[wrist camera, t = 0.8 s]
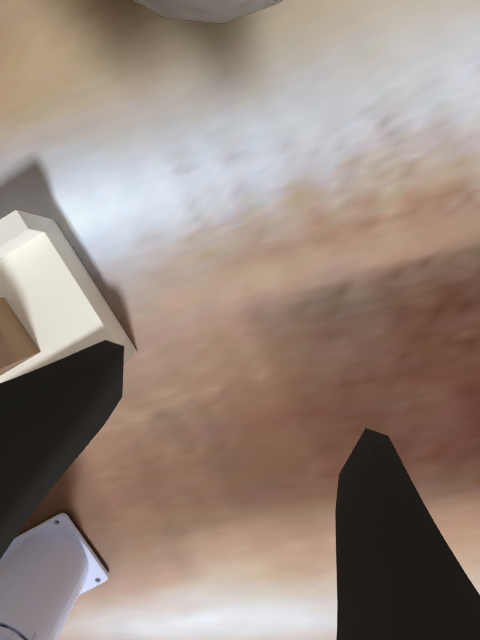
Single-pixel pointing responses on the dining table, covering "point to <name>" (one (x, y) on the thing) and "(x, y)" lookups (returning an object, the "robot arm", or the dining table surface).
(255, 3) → the flower arrangement
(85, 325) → the tray
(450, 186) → the dining table surface
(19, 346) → the walnut block
